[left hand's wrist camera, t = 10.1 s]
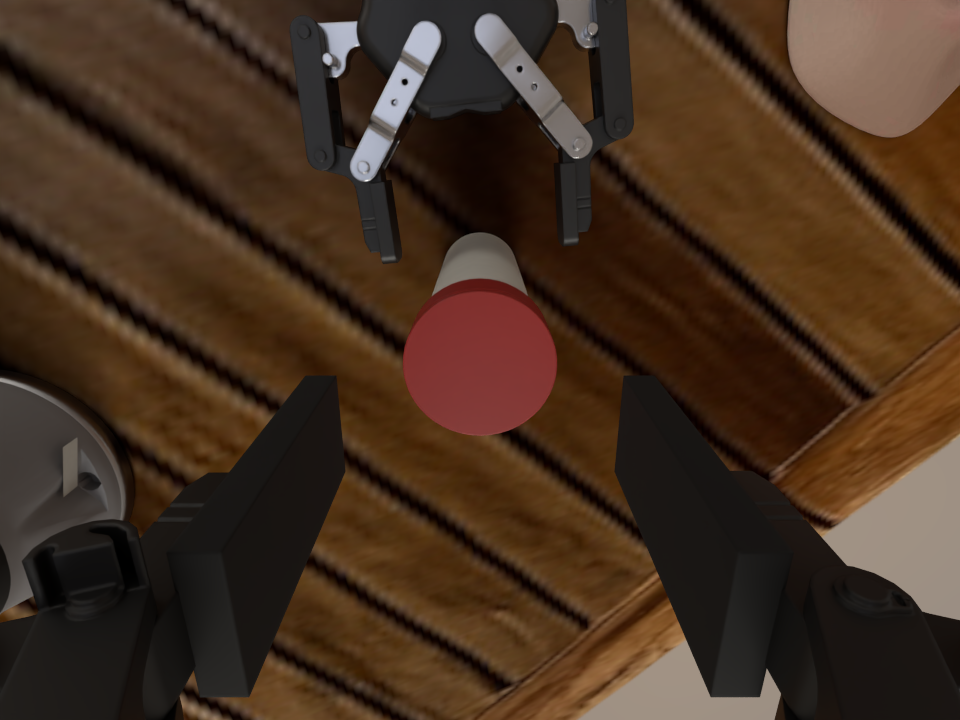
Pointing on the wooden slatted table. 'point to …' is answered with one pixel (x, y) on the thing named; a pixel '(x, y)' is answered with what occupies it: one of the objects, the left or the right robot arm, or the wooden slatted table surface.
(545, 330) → the lid
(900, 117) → the anatomical model
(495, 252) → the white bottle
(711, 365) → the wooden slatted table surface
